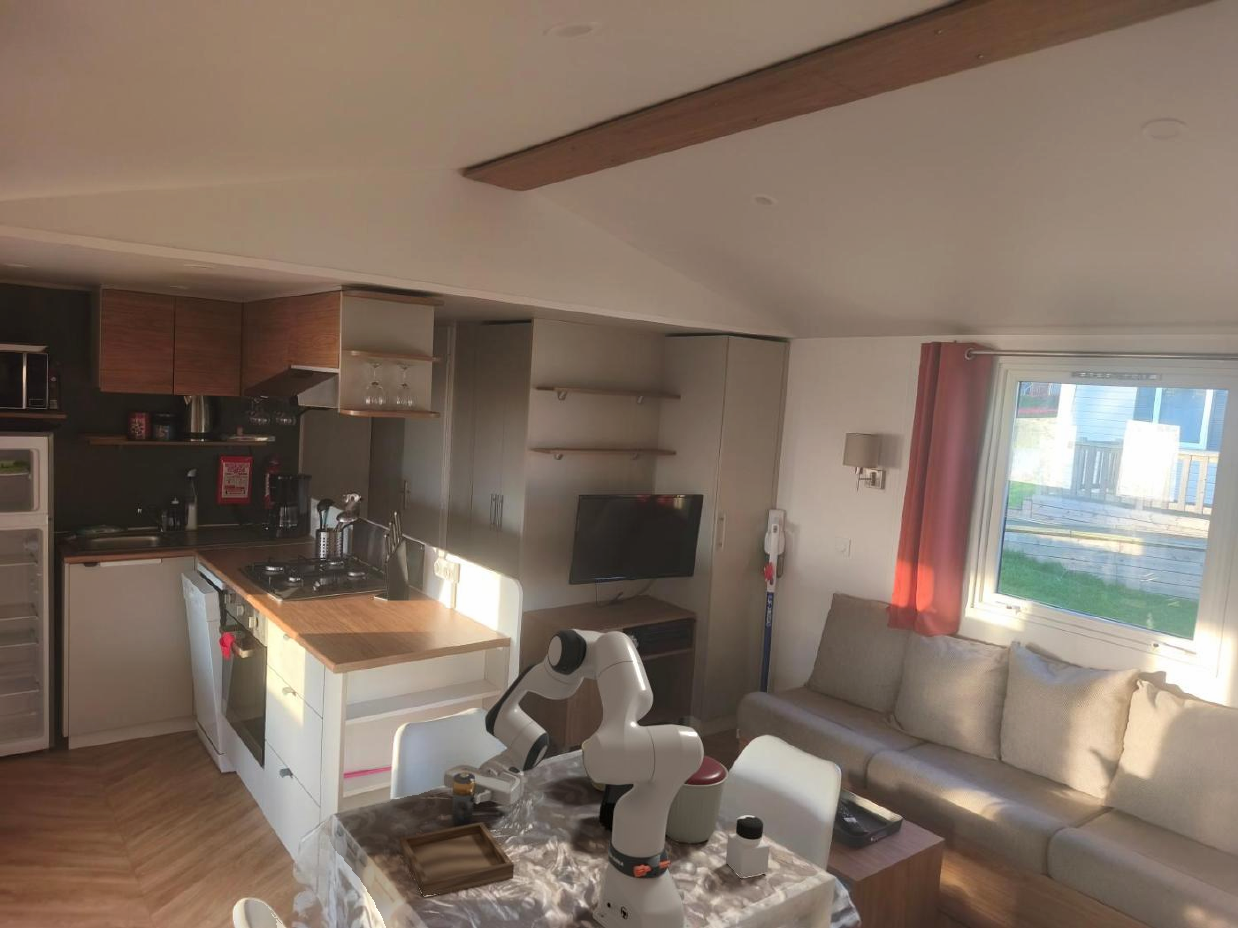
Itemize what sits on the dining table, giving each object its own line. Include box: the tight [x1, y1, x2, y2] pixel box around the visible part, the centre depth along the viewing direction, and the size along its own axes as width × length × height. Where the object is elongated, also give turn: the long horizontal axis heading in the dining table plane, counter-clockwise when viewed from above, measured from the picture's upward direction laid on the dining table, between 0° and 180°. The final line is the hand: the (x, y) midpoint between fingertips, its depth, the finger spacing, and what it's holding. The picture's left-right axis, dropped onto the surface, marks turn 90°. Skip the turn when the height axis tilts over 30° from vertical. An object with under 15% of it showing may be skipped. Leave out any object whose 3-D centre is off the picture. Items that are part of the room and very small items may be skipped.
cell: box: [450, 772, 475, 828], centre depth 209 cm, size 5×5×13 cm
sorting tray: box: [398, 821, 515, 896], centre depth 192 cm, size 20×20×3 cm
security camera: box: [598, 783, 635, 833], centre depth 214 cm, size 7×18×10 cm, turn 174°
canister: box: [665, 754, 729, 844], centre depth 212 cm, size 18×18×21 cm
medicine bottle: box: [725, 814, 770, 878], centre depth 198 cm, size 7×7×12 cm
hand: (463, 796), depth 209 cm, fingers closed on cell, 5 cm apart
